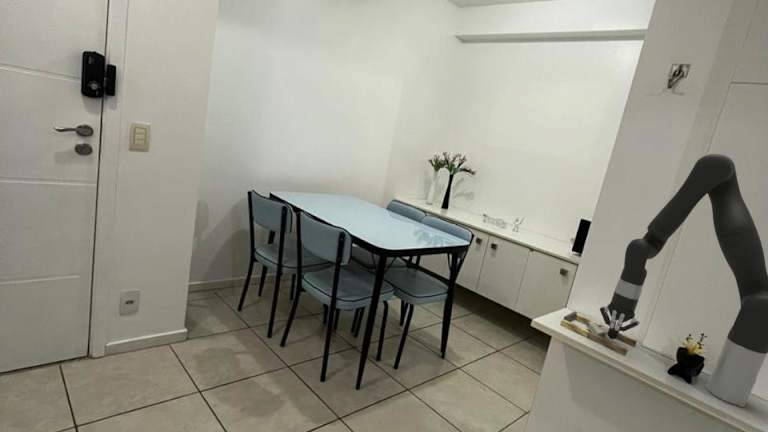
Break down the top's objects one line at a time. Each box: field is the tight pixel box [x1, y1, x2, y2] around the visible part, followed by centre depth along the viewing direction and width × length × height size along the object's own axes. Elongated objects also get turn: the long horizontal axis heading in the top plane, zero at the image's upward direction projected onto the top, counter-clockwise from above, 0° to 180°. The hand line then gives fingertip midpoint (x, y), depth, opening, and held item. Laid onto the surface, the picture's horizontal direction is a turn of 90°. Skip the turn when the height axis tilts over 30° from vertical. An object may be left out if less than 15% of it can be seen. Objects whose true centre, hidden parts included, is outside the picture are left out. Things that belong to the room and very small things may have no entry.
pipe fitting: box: [586, 320, 609, 339], centre depth 145 cm, size 8×4×7 cm
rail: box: [560, 311, 638, 357], centre depth 145 cm, size 22×14×3 cm, turn 44°
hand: (611, 338), depth 142 cm, fingers closed
